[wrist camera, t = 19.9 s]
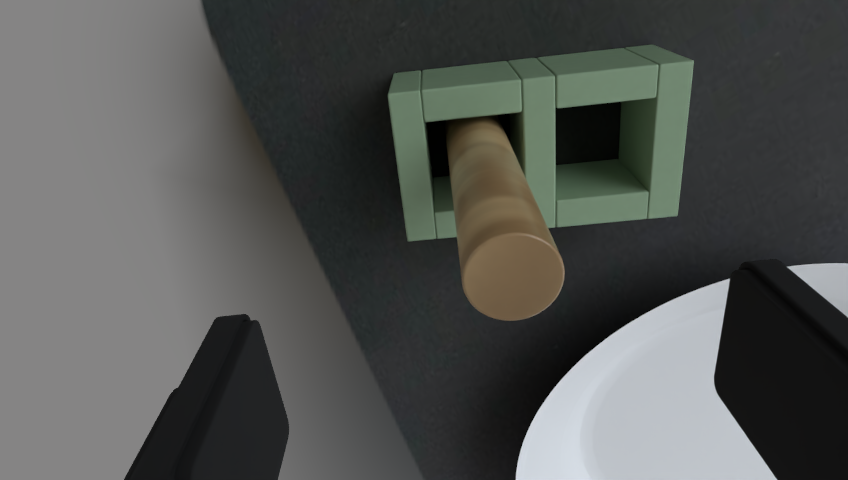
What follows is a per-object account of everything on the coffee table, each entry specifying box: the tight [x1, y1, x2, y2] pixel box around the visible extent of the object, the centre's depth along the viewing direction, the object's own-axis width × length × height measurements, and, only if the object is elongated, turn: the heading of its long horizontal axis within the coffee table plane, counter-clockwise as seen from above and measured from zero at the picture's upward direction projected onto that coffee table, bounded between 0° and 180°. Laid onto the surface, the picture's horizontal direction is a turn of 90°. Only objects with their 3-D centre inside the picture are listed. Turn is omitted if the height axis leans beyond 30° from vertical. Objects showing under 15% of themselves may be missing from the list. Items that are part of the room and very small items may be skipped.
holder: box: [388, 45, 694, 241], centre depth 23 cm, size 11×6×4 cm, turn 96°
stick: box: [445, 115, 565, 321], centre depth 19 cm, size 2×2×13 cm
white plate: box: [516, 263, 848, 480], centre depth 31 cm, size 25×25×4 cm
